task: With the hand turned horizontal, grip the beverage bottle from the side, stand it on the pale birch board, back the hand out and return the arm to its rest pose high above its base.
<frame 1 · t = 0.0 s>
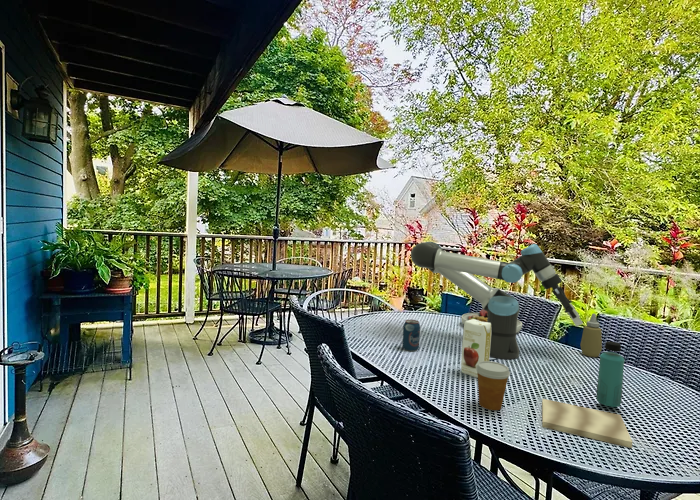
hand: (578, 321, 167), 15 cm above the table, tool tilted 35°, fingers open, 13 cm apart
beverage bottle: (607, 407, 121), on the table
juice carton: (474, 374, 144), on the table
soda can: (410, 349, 168), on the table
bowl: (490, 329, 210), on the table
squeeze bottle: (590, 355, 171), on the table
disposable coffee cup: (490, 406, 119), on the table
birch board: (582, 423, 110), on the table
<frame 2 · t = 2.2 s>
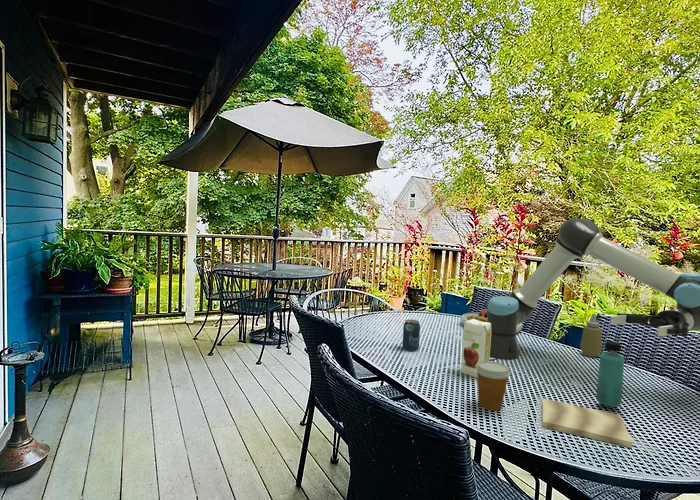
hand: (634, 325, 124), 24 cm above the table, tool horizontal, fingers open, 13 cm apart
nothing on the table moved.
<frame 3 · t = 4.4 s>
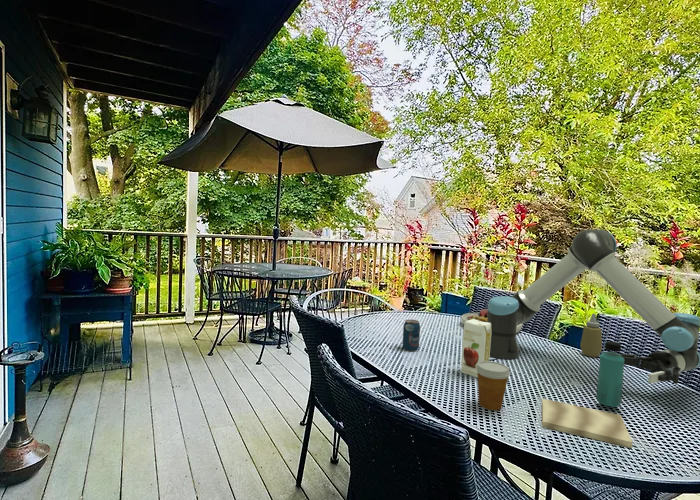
hand: (625, 370, 123), 11 cm above the table, tool horizontal, fingers open, 13 cm apart
nothing on the table moved.
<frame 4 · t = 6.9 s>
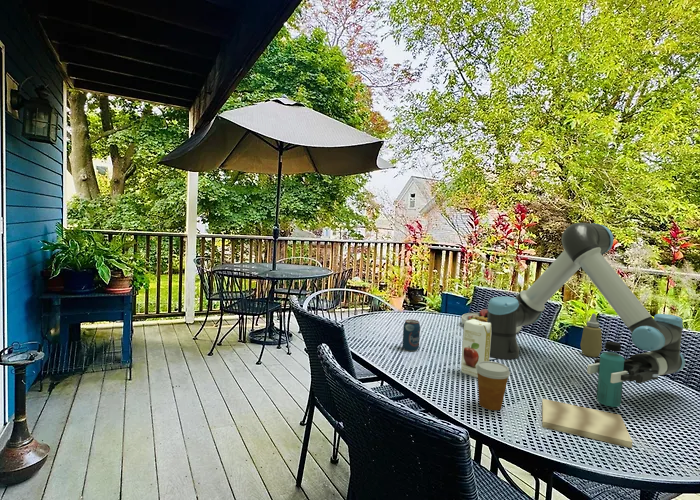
hand: (600, 373, 118), 11 cm above the table, tool horizontal, fingers closed on beverage bottle, 6 cm apart
beverage bottle: (607, 407, 121), on the table, touching gripper
everything else where it was.
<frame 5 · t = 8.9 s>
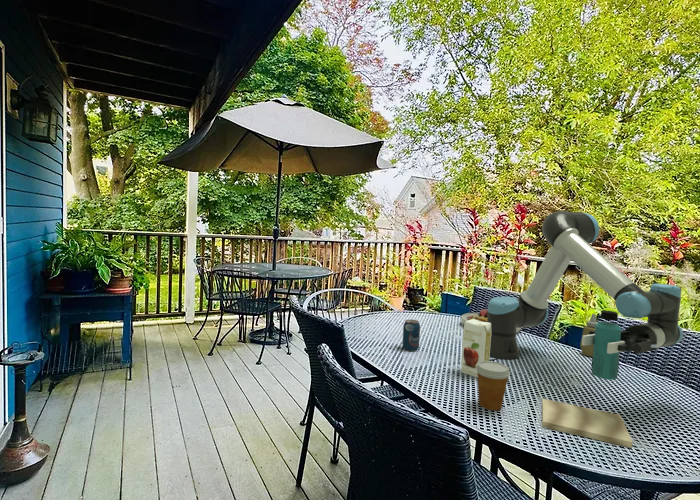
hand: (595, 344, 110), 22 cm above the table, tool horizontal, fingers closed on beverage bottle, 6 cm apart
beverage bottle: (603, 381, 113), point 11 cm above the table, touching gripper
everything else where it was.
when the fingers open (14 cm above the table, at t = 11.2 s): beverage bottle drops 1 cm, resting on birch board.
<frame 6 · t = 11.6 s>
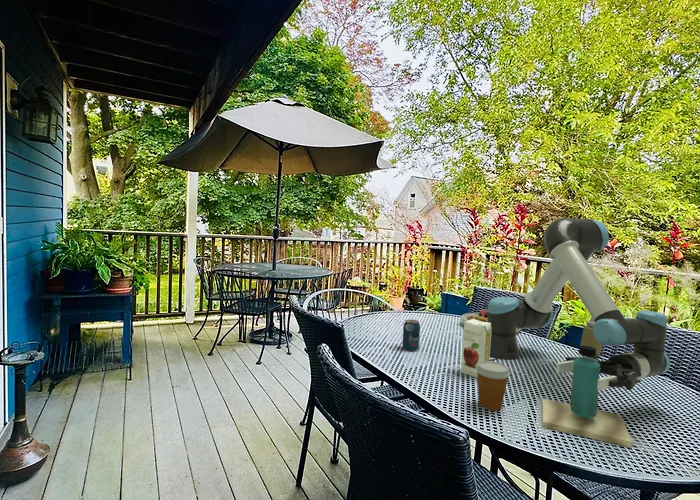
hand: (577, 375, 108), 14 cm above the table, tool horizontal, fingers open, 11 cm apart
beverage bottle: (582, 418, 110), point 1 cm above the table, touching birch board
everything else where it was.
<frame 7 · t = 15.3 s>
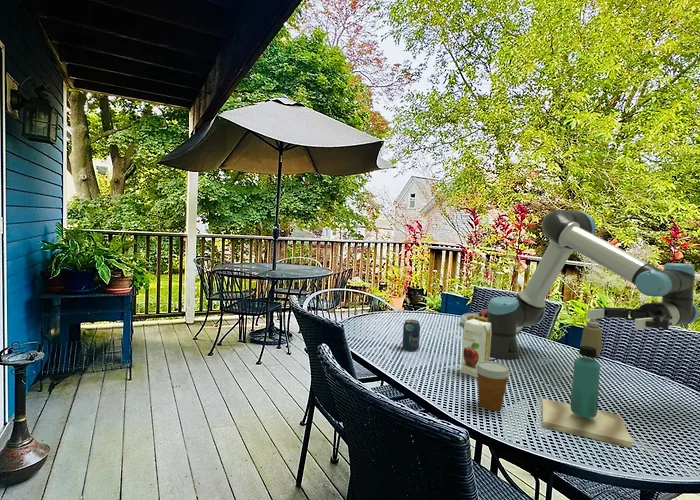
hand: (610, 319, 113), 28 cm above the table, tool horizontal, fingers open, 13 cm apart
nothing on the table moved.
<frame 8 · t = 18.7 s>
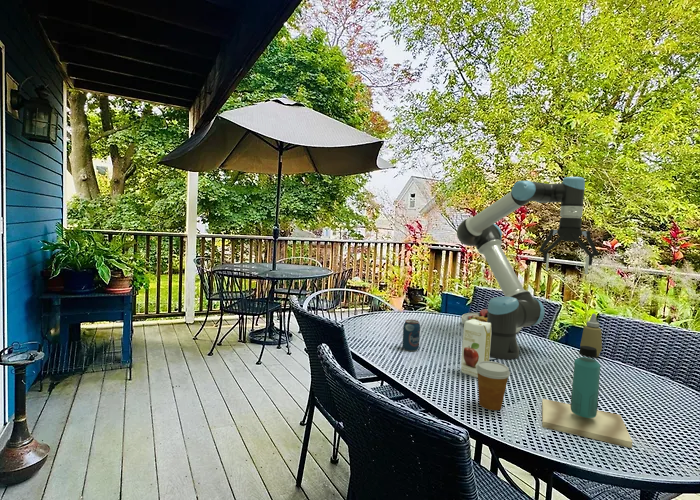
hand: (566, 272, 156), 37 cm above the table, tool pointing down, fingers open, 13 cm apart
nothing on the table moved.
at the end: beverage bottle inside the target area on the birch board (0.1 cm from its centre), point 1.3 cm above the birch board's base; beverage bottle tilted 0°; the gripper is holding nothing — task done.
